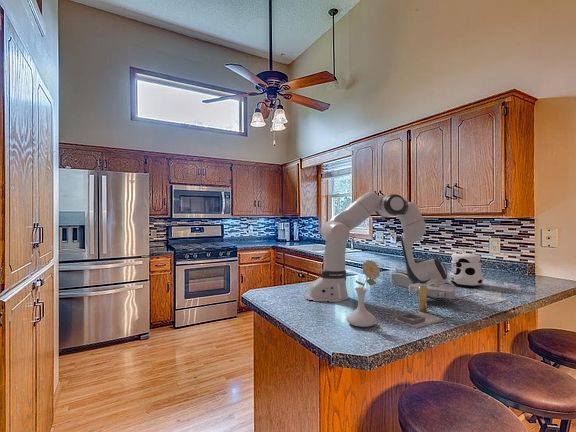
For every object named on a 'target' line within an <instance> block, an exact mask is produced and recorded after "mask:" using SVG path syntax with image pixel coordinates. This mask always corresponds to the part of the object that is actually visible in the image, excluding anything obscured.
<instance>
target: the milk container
mask: <svg viewBox="0 0 576 432" xmlns="http://www.w3.org/2000/svg"><path fill="white" fill-rule="evenodd" d="M450 260H451V261H450V263H451V264H450V266H451V267H450V272H449V279H450V281H449V282H450V283H451V284H453V285H455V286H460V287H466V288H467V287H469V288H471V287H473V288H475V287H480V286H482V285H483V283H484V275H483V273H482V256H481V255H479V254H473V253H453V254H451V258H450Z"/></svg>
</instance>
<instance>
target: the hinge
mask: <svg viewBox="0 0 576 432" xmlns="http://www.w3.org/2000/svg"><path fill="white" fill-rule="evenodd" d="M391 280H392V284H393V285H395V286H399V287H403V288H406V289H409V285H411V284H417V283H415V282H413V281H411V280H410V279H409V277H408V274H407V271H400V270H399V271H398V270H397V271H394V272H393V273H392V274H391Z"/></svg>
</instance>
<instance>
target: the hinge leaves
mask: <svg viewBox="0 0 576 432" xmlns="http://www.w3.org/2000/svg"><path fill="white" fill-rule="evenodd" d="M394 321H395V322H398V323H401V324H404V325H406V326H409V327H411V328H415V329H418V328H421V327H425V326H429V325H431V324H436V323H439V322H442V321H443V318H442V317H438V316H436V315H431V314H430V313H429V314H428V313H422V312H419V311H418V312H415V313H412V312H407V313H403V314H398V315H397V316H396V317H395V318H394Z"/></svg>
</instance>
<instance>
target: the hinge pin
mask: <svg viewBox="0 0 576 432" xmlns="http://www.w3.org/2000/svg"><path fill="white" fill-rule="evenodd" d="M427 296H428V295H427V287H426V286H419V295H418V312H422V313H426V314H428V313H427V312H428V308H427V307H428V298H427Z"/></svg>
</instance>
